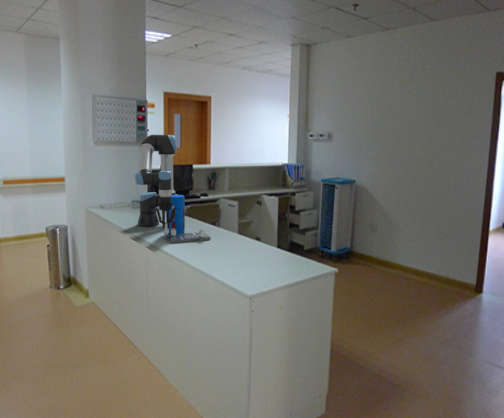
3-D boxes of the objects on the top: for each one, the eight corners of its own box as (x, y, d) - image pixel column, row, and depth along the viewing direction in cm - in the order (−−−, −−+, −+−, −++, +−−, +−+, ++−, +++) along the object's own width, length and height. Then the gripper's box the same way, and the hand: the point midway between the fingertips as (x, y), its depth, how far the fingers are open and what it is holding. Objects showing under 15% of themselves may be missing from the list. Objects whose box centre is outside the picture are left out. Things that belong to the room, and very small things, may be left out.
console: (164, 238, 255) (164, 234, 255) (203, 234, 266) (203, 231, 266) (169, 243, 242) (169, 240, 242) (210, 240, 253) (210, 237, 253)
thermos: (181, 235, 264) (180, 197, 260) (165, 233, 267) (165, 196, 262) (187, 231, 275) (186, 195, 271) (172, 230, 277) (171, 194, 273)
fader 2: (199, 235, 254) (199, 229, 253) (202, 235, 255) (202, 228, 254) (200, 237, 251) (200, 230, 250) (204, 236, 252) (204, 230, 251)
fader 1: (170, 234, 255) (170, 228, 254) (174, 234, 256) (174, 227, 255) (172, 236, 252) (172, 229, 251) (176, 235, 253) (175, 229, 252)
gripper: (155, 197, 241) (156, 235, 246) (177, 196, 247) (177, 233, 251) (153, 195, 248) (154, 232, 252) (174, 194, 254) (174, 231, 258)
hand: (165, 233), depth 252 cm, fingers closed
